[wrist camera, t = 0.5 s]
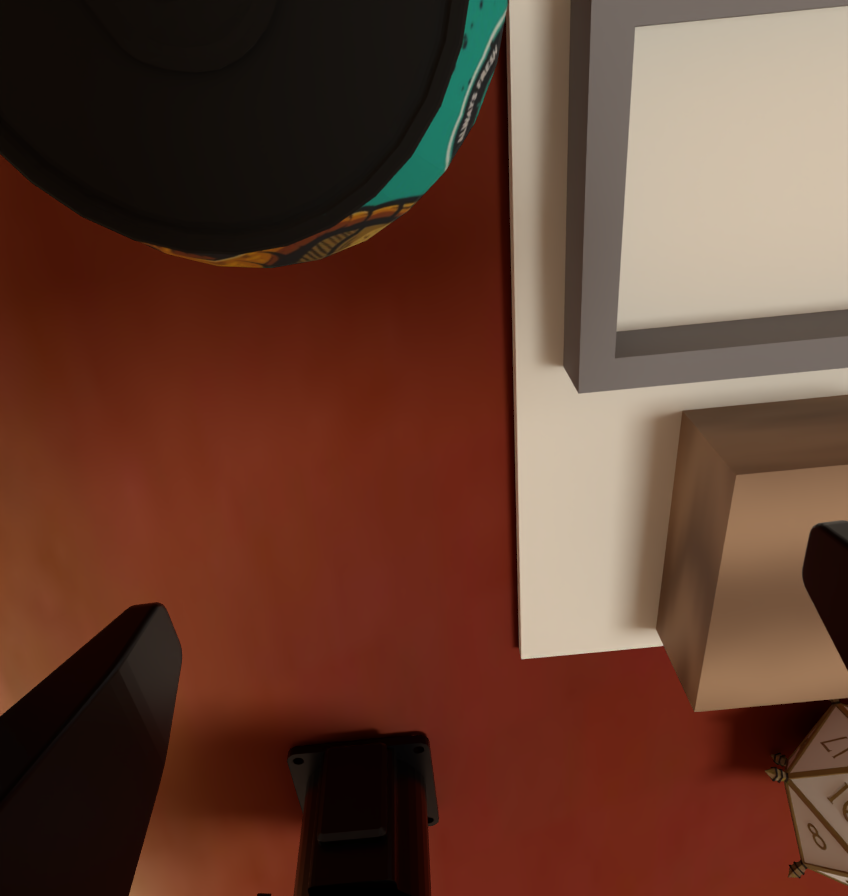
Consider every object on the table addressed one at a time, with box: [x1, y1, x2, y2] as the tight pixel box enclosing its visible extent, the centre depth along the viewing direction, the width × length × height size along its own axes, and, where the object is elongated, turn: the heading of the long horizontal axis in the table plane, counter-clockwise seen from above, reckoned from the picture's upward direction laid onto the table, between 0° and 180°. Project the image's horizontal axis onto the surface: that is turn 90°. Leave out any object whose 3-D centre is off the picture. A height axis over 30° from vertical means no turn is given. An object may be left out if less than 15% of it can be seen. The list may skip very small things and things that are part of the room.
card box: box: [656, 395, 848, 712], centre depth 23 cm, size 10×6×4 cm, turn 5°
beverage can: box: [0, 0, 508, 268], centre depth 12 cm, size 7×7×12 cm
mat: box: [506, 0, 848, 659], centre depth 21 cm, size 23×17×3 cm
